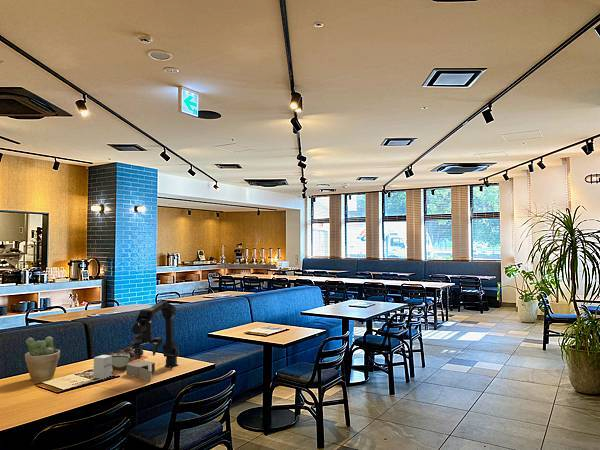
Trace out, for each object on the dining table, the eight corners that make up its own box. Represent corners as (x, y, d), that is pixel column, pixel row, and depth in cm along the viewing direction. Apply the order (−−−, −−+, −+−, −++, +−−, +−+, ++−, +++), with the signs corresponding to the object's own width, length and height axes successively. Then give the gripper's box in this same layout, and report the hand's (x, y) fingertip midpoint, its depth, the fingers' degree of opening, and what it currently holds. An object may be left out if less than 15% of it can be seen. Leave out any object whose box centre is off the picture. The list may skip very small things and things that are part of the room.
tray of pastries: (128, 356, 321) (128, 345, 322) (147, 358, 316) (147, 346, 316) (99, 366, 295) (99, 354, 295) (120, 368, 289) (120, 355, 290)
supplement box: (103, 379, 264) (103, 358, 265) (93, 378, 267) (93, 357, 267) (112, 376, 271) (112, 355, 272) (102, 375, 274) (102, 354, 274)
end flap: (151, 380, 261) (151, 363, 262) (149, 381, 260) (150, 363, 261) (140, 376, 269) (140, 360, 269) (138, 377, 268) (138, 360, 268)
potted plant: (48, 372, 280) (49, 332, 281) (66, 377, 270) (67, 335, 272) (17, 380, 264) (18, 337, 265) (36, 385, 255) (36, 340, 256)
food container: (133, 368, 289) (133, 352, 289) (128, 371, 283) (128, 355, 283) (115, 368, 290) (115, 352, 290) (110, 370, 284) (110, 354, 284)
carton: (143, 369, 285) (143, 360, 286) (155, 372, 279) (155, 362, 279) (126, 374, 275) (126, 364, 276) (138, 377, 269) (138, 367, 269)
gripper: (153, 326, 280) (154, 351, 279) (124, 331, 266) (125, 358, 266) (163, 329, 272) (163, 354, 272) (133, 334, 259) (134, 361, 258)
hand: (146, 357), depth 267 cm, fingers open, 9 cm apart
